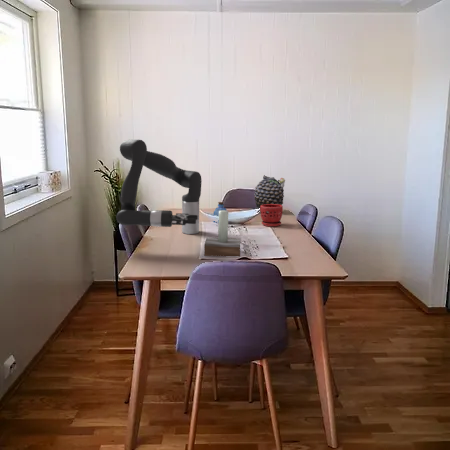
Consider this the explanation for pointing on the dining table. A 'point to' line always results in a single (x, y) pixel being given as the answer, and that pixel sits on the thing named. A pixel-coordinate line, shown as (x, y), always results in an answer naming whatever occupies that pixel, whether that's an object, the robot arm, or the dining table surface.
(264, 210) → the plant pot
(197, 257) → the dining table surface
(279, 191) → the round potted cactus
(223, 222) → the pale green cylinder
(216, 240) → the stand
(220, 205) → the perfume bottle
